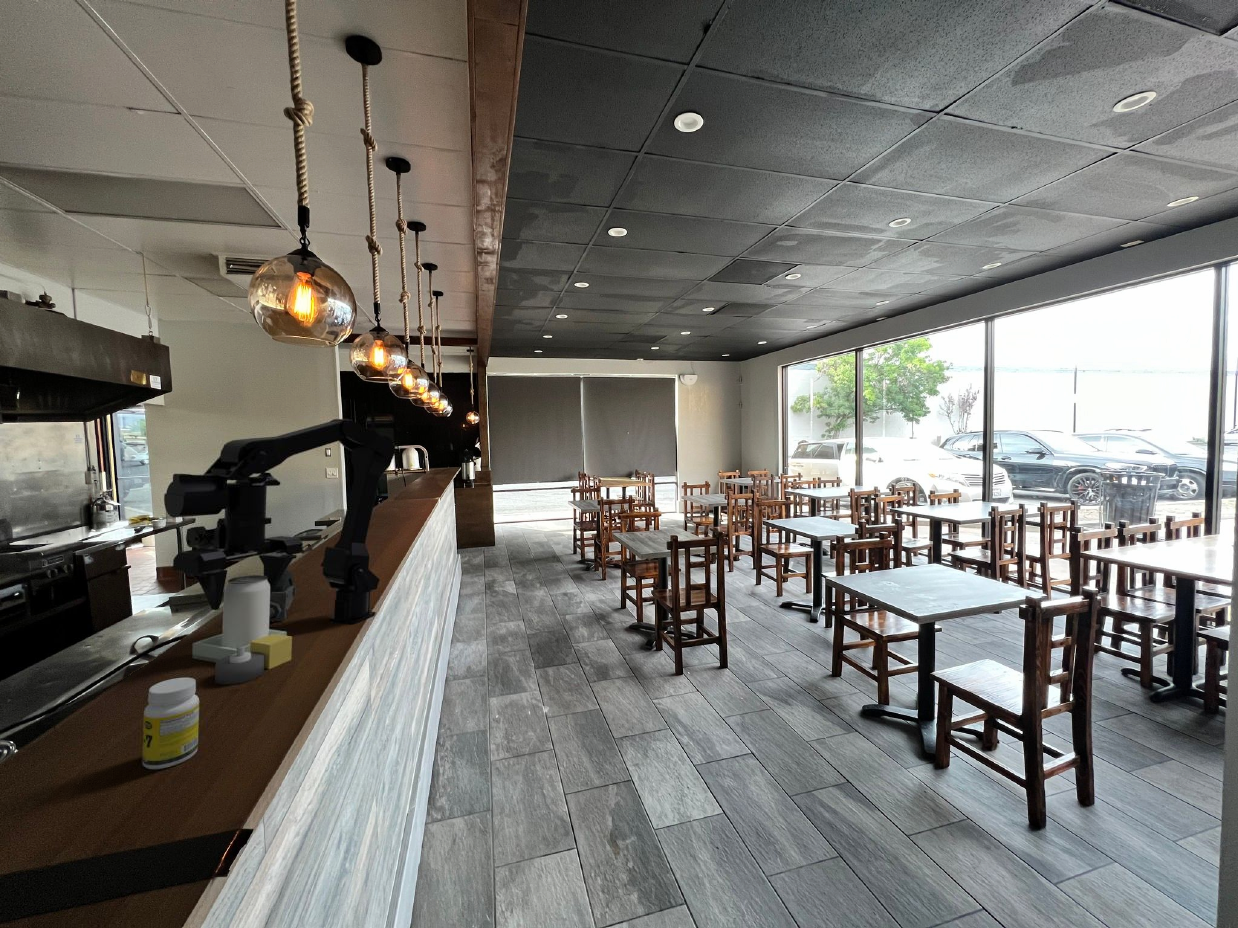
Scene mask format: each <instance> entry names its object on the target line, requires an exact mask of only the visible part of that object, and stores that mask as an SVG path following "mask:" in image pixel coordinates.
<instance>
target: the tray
mask: <svg viewBox="0 0 1238 928" xmlns="http://www.w3.org/2000/svg"><path fill="white" fill-rule="evenodd" d="M287 633H288V632H287V631H285V630H284V631H282V630H277V629H270V628H269V635H271V634H279V635H285V636H288V634H287ZM244 647H245V652H250V644H249V645H246V646H244ZM236 653H237V649H235V648H229V647H223V646H222V633H220V634H216V635H214V636H213V635H212V636H211V637H208V638H205V639H201V640H198V641H196V642H193V643H192V659H195V660H199V661H200V660H201V661H206V662H211V663H216V662H217V661H218V660H220V659H222V658H224V657H227V656H230V655H233V654H236Z"/></svg>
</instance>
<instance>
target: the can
mask: <svg viewBox="0 0 1238 928" xmlns="http://www.w3.org/2000/svg"><path fill="white" fill-rule="evenodd" d="M267 578H268V577H267V576H264V574H263V575H262V574H259V575H258V574H253V575H241V576H236V577H231V578H230V579H228V580H227V581H226V582H227V585H226V586H225V587H224V591H223V606H222V607H223V609H222V633H221V634H222V646H223V647H229V648H235V649H237V647H241V646H246V645H249V644H250V642H251V641H254V640H257V639H260V638H262V637H265V636H268V635H269V629H270V622H269V612H270V584H269V583H268V581H267Z"/></svg>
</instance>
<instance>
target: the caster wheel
mask: <svg viewBox="0 0 1238 928" xmlns="http://www.w3.org/2000/svg"><path fill="white" fill-rule="evenodd" d="M296 595H297V587H296V586H295V585H294V576H293V573H292V571H290V570H287V569H286V570H285V571H284V573H283V575H282V576H281V578H280V580H279V581H278V583H277V585H276V587H275V588H274V590H273V592H272V593H271V595H270V612H269V623H271V622H270V621H281V622H283V621H285V620H286V619H287V613H288V609H290V607H291V604H292V602H293V600H294V598H295V596H296ZM284 619H285V620H284Z"/></svg>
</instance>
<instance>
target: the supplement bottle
mask: <svg viewBox="0 0 1238 928" xmlns="http://www.w3.org/2000/svg"><path fill="white" fill-rule="evenodd" d="M196 687H197V683H196V679H195V678H192V677H177V678H170V679H167V680H162V681H161V682H158V683H156V684H153V685H151V687H150V688H149V689H148V695H147V696H148V697H147V702H148V704H147V706H146V707H145V708H144V711H143V722H142V724H143V725H142V726H143V729H142V752H141V753H142V755H141V756H142V758H141V759H142V760H141V764H142V766H143V767H145V768H146V769H148V770H161V769H165V768H166V769H167V768H169V767H173V766H176V765H179V764H181V763H184V762H186V761H188V760H189V759H191V758H192V757H193V756H194V755H195V754H196V753H197V751H198V749H199V747H198V746H199V718H200V699H199V697H198V695H196V694H195V693H196V690H197V688H196Z"/></svg>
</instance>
